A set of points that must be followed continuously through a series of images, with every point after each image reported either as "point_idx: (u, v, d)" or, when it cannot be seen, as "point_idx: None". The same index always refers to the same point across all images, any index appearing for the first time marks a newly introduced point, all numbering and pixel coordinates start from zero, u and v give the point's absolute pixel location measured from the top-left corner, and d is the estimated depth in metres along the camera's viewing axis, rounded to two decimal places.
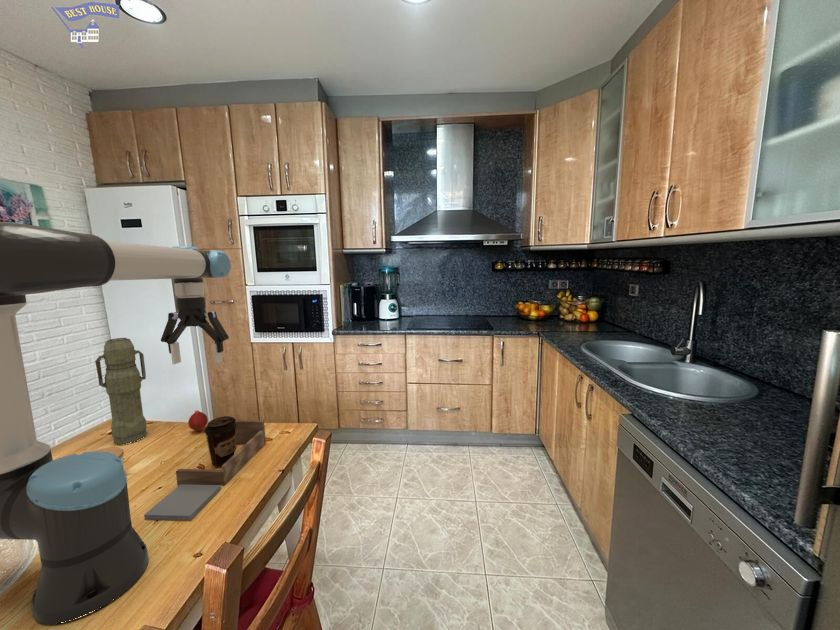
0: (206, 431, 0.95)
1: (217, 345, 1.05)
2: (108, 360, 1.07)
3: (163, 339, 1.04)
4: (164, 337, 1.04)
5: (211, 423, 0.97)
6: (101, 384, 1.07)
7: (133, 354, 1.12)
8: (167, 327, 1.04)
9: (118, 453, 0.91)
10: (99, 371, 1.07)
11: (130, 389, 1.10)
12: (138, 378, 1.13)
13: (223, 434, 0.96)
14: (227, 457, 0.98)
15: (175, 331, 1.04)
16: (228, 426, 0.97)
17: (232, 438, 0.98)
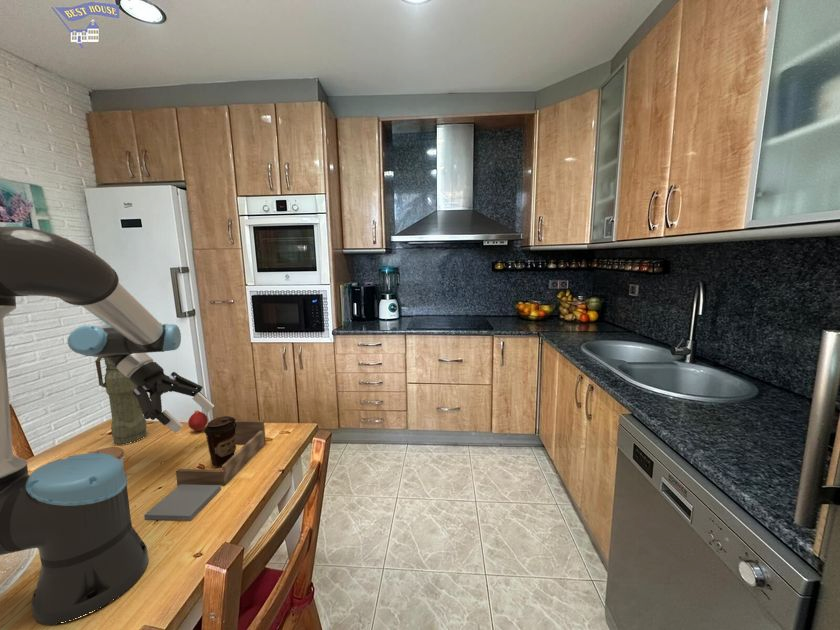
0: (206, 431, 0.95)
1: None
2: None
3: (153, 410, 0.90)
4: (152, 408, 0.90)
5: (211, 423, 0.97)
6: (101, 384, 1.07)
7: None
8: (147, 398, 0.91)
9: (118, 453, 0.91)
10: (99, 371, 1.07)
11: (130, 389, 1.10)
12: None
13: (223, 434, 0.96)
14: (227, 457, 0.98)
15: (158, 398, 0.93)
16: (228, 426, 0.96)
17: (232, 438, 0.98)
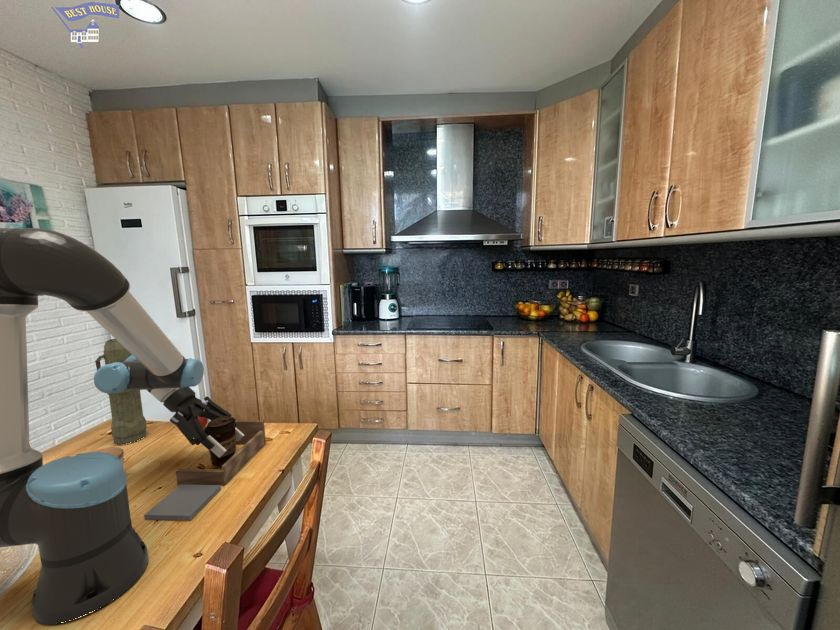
0: (206, 431, 0.95)
1: None
2: (108, 360, 1.07)
3: (198, 436, 0.92)
4: (196, 434, 0.92)
5: (211, 423, 0.97)
6: None
7: None
8: (188, 425, 0.92)
9: (118, 453, 0.91)
10: None
11: None
12: None
13: (223, 434, 0.96)
14: (227, 457, 0.98)
15: (197, 423, 0.94)
16: (228, 426, 0.96)
17: (232, 438, 0.98)
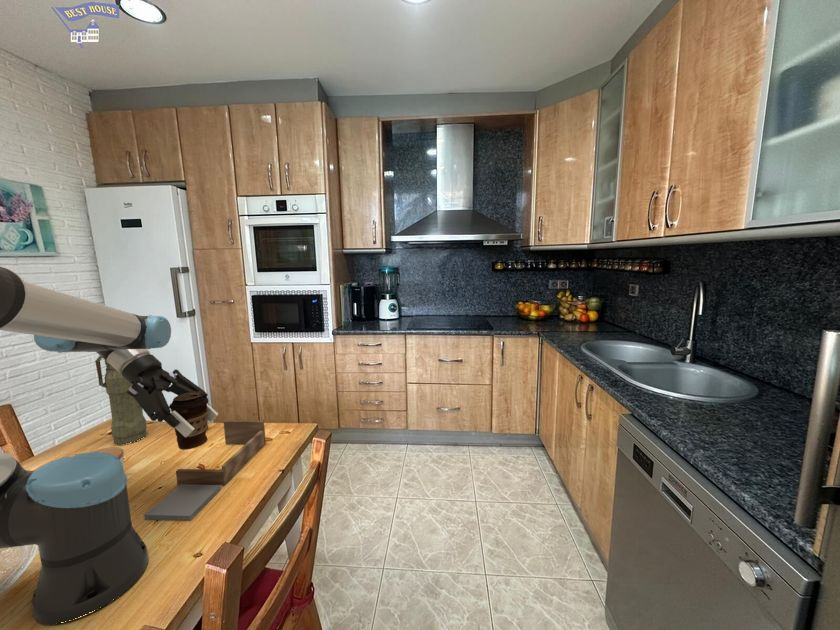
0: (171, 406, 0.81)
1: None
2: None
3: (160, 410, 0.77)
4: (158, 408, 0.77)
5: (178, 397, 0.83)
6: (101, 384, 1.07)
7: None
8: (148, 397, 0.78)
9: (118, 453, 0.91)
10: (99, 371, 1.07)
11: None
12: None
13: (191, 410, 0.81)
14: (196, 438, 0.83)
15: (161, 397, 0.80)
16: (197, 401, 0.82)
17: (203, 415, 0.84)
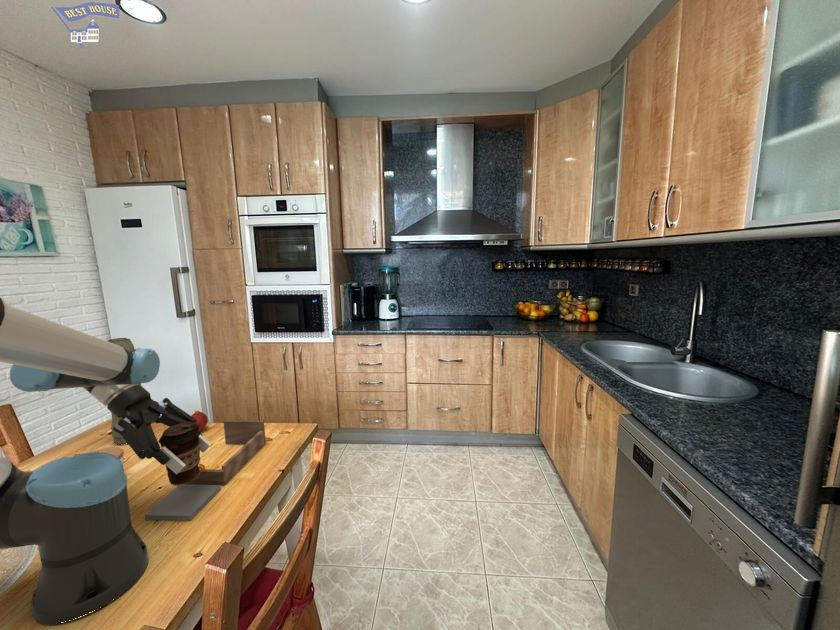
0: (160, 441, 0.77)
1: None
2: None
3: (148, 448, 0.73)
4: (146, 445, 0.74)
5: (168, 431, 0.79)
6: None
7: None
8: (136, 434, 0.74)
9: (118, 453, 0.91)
10: None
11: None
12: None
13: (182, 445, 0.77)
14: (188, 473, 0.80)
15: (150, 432, 0.76)
16: (188, 435, 0.78)
17: (194, 449, 0.80)
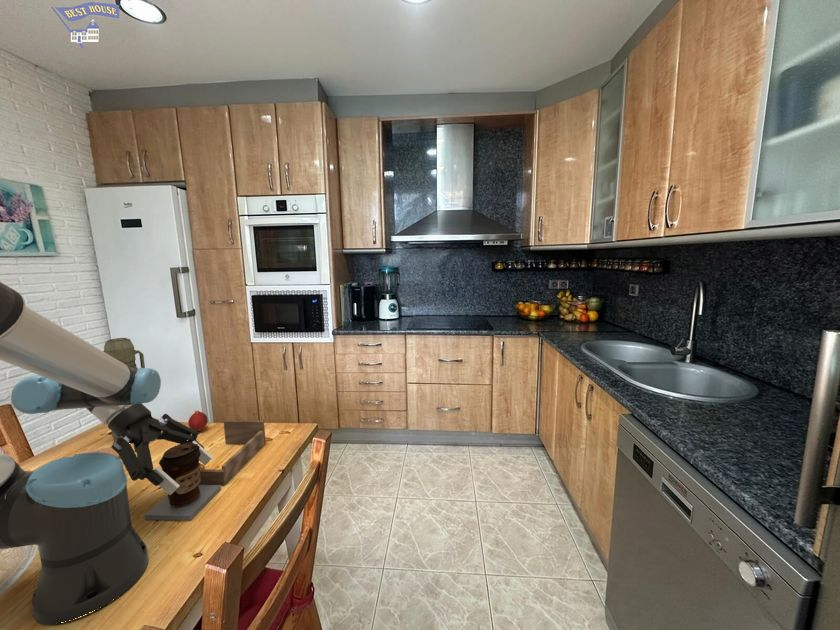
0: (161, 463, 0.77)
1: (196, 443, 0.87)
2: None
3: (141, 469, 0.72)
4: (140, 466, 0.72)
5: (168, 452, 0.79)
6: None
7: (133, 354, 1.12)
8: (132, 454, 0.73)
9: None
10: None
11: None
12: None
13: (182, 466, 0.78)
14: (188, 495, 0.79)
15: (146, 451, 0.75)
16: (189, 456, 0.78)
17: (195, 471, 0.80)
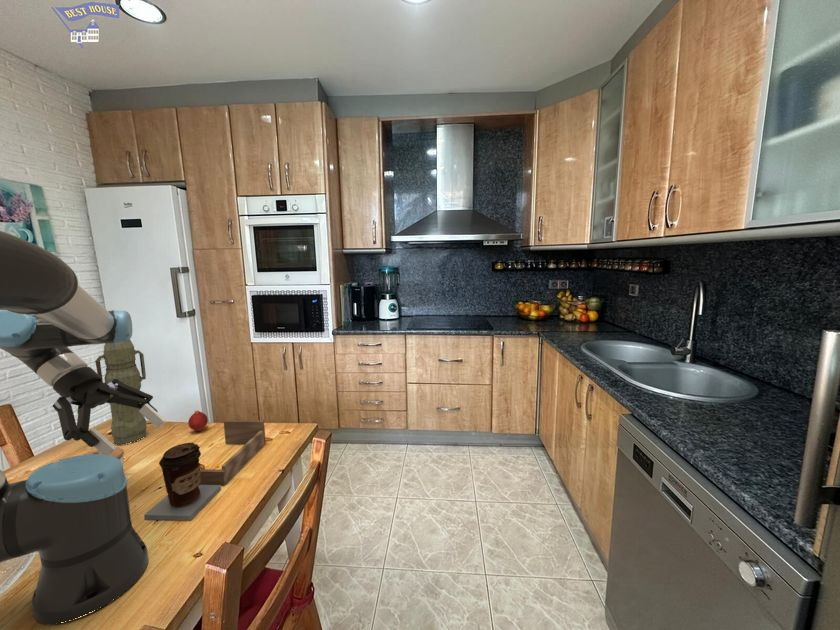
0: (161, 463, 0.77)
1: None
2: (108, 360, 1.07)
3: (75, 429, 0.71)
4: (74, 426, 0.71)
5: (168, 453, 0.79)
6: None
7: (133, 354, 1.12)
8: (69, 413, 0.72)
9: (118, 453, 0.91)
10: (99, 371, 1.07)
11: None
12: (138, 378, 1.13)
13: (182, 467, 0.77)
14: (188, 495, 0.79)
15: (86, 413, 0.74)
16: (189, 457, 0.78)
17: (195, 471, 0.80)
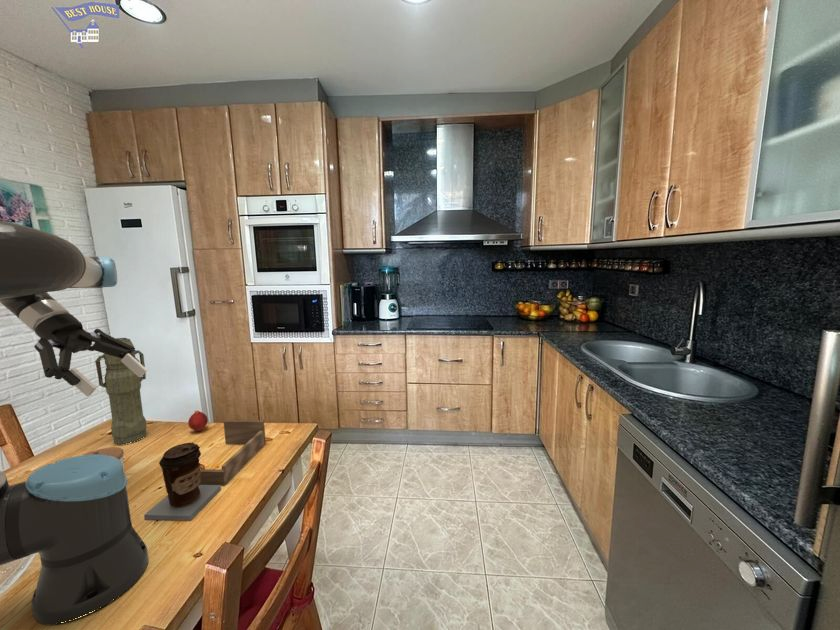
0: (161, 463, 0.77)
1: None
2: (108, 360, 1.07)
3: (56, 366, 0.73)
4: (55, 364, 0.73)
5: (168, 453, 0.79)
6: (101, 384, 1.07)
7: (133, 354, 1.12)
8: (51, 353, 0.74)
9: (118, 453, 0.91)
10: (99, 371, 1.07)
11: (130, 389, 1.10)
12: (138, 378, 1.13)
13: (182, 467, 0.77)
14: (188, 495, 0.79)
15: (67, 354, 0.77)
16: (189, 457, 0.78)
17: (195, 471, 0.80)
